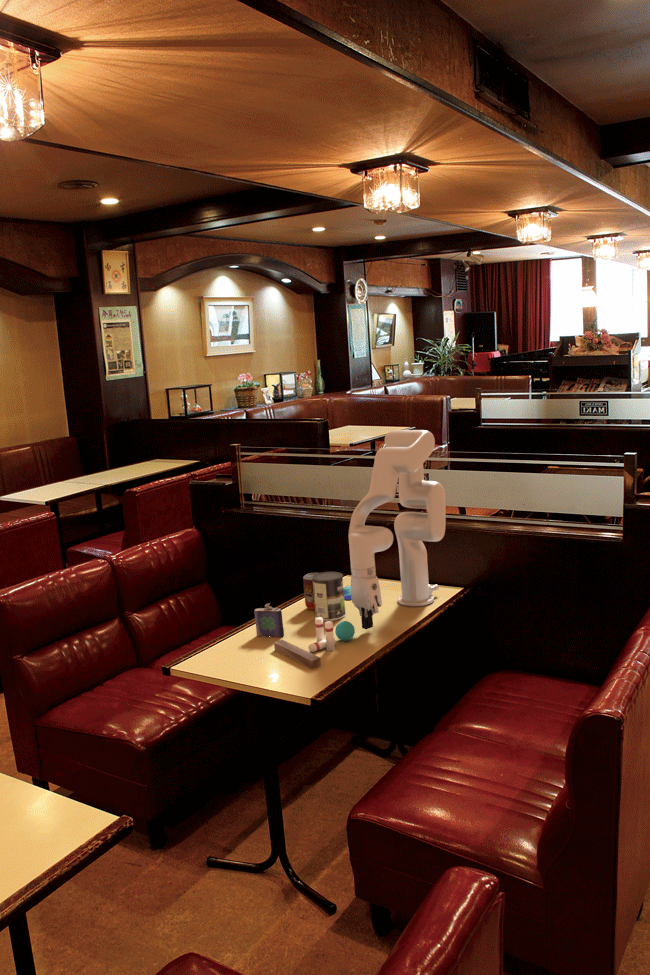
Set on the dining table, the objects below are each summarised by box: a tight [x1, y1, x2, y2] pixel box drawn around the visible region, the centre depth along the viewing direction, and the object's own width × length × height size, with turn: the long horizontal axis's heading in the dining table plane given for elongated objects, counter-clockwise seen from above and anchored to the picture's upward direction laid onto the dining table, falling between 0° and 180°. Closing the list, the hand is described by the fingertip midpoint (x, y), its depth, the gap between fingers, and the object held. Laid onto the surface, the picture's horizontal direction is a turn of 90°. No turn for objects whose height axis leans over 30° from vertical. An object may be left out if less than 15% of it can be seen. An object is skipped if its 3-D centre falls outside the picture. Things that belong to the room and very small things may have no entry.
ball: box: [334, 620, 356, 642], centre depth 230 cm, size 6×6×6 cm
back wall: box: [273, 639, 322, 670], centre depth 219 cm, size 3×20×2 cm, turn 36°
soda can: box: [302, 572, 319, 612], centre depth 260 cm, size 7×7×12 cm
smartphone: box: [343, 584, 352, 601], centre depth 275 cm, size 8×1×15 cm
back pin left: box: [324, 621, 336, 652], centre depth 223 cm, size 2×2×8 cm
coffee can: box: [312, 571, 346, 622], centre depth 251 cm, size 10×10×14 cm
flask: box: [253, 602, 285, 638], centre depth 238 cm, size 9×3×11 cm, turn 73°
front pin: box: [308, 637, 337, 654], centre depth 225 cm, size 2×2×8 cm
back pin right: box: [314, 617, 326, 642], centre depth 227 cm, size 2×2×8 cm
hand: (367, 627), depth 235 cm, fingers closed
